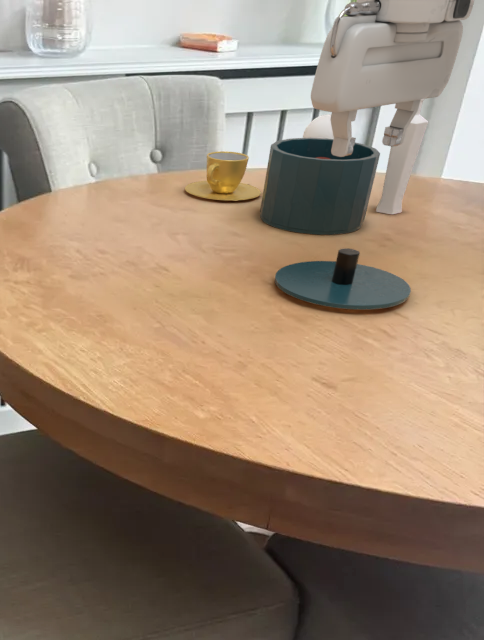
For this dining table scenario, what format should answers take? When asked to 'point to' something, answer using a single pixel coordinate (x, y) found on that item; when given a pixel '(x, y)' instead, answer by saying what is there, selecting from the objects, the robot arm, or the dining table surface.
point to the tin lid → (342, 283)
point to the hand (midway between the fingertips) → (366, 150)
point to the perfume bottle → (402, 165)
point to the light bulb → (319, 128)
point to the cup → (224, 178)
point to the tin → (317, 187)
